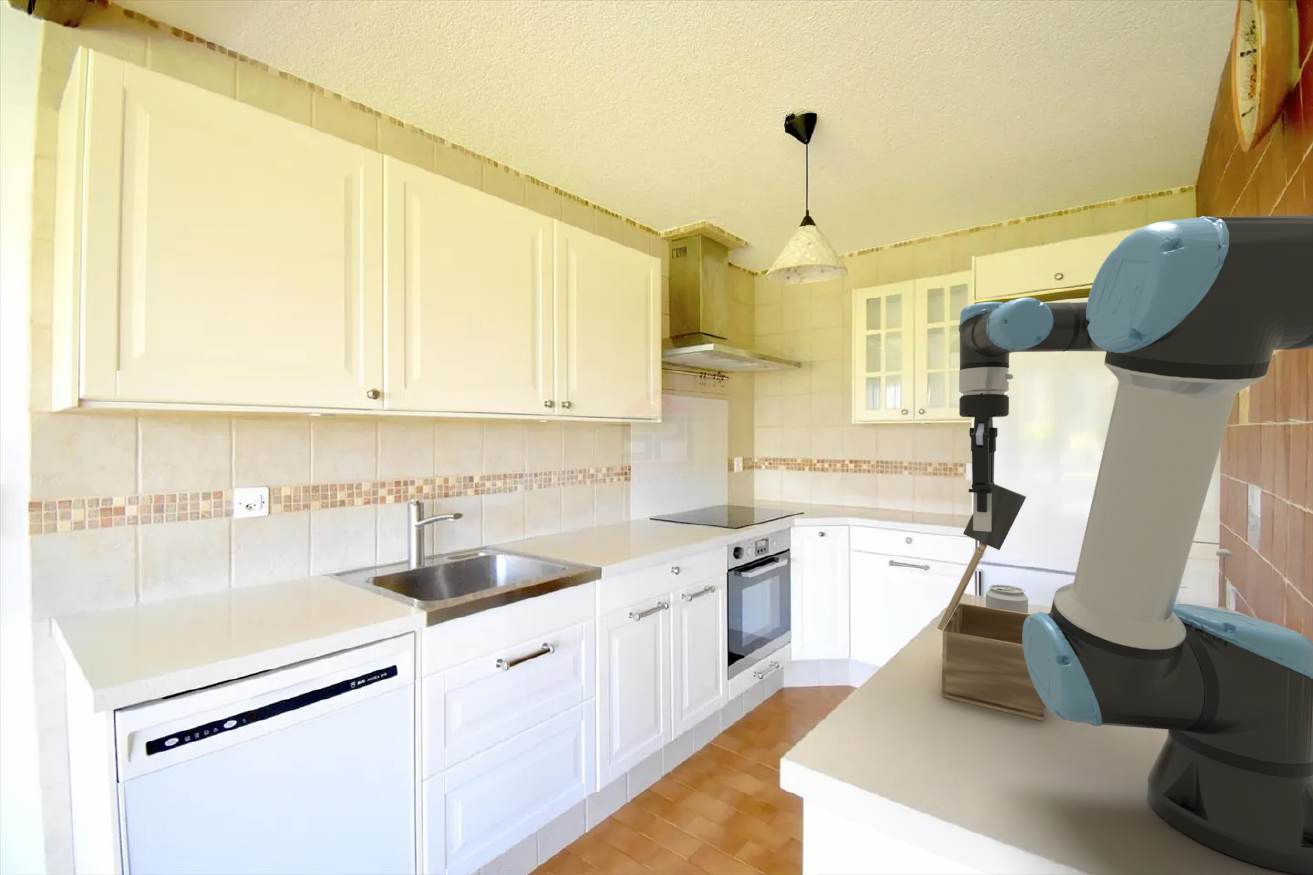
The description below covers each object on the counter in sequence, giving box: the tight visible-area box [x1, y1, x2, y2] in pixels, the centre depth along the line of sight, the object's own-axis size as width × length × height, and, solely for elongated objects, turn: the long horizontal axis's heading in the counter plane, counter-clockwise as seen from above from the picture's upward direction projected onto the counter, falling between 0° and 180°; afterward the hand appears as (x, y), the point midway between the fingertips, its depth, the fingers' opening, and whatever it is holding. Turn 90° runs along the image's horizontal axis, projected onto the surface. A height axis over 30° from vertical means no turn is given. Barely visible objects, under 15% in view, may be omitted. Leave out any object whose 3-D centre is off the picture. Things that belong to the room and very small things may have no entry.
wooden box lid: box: [937, 482, 1027, 632], centre depth 102 cm, size 20×24×6 cm
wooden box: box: [941, 602, 1046, 722], centre depth 101 cm, size 20×14×11 cm
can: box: [985, 584, 1029, 614], centre depth 120 cm, size 8×8×12 cm
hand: (983, 529), depth 102 cm, fingers closed on wooden box lid, 2 cm apart
